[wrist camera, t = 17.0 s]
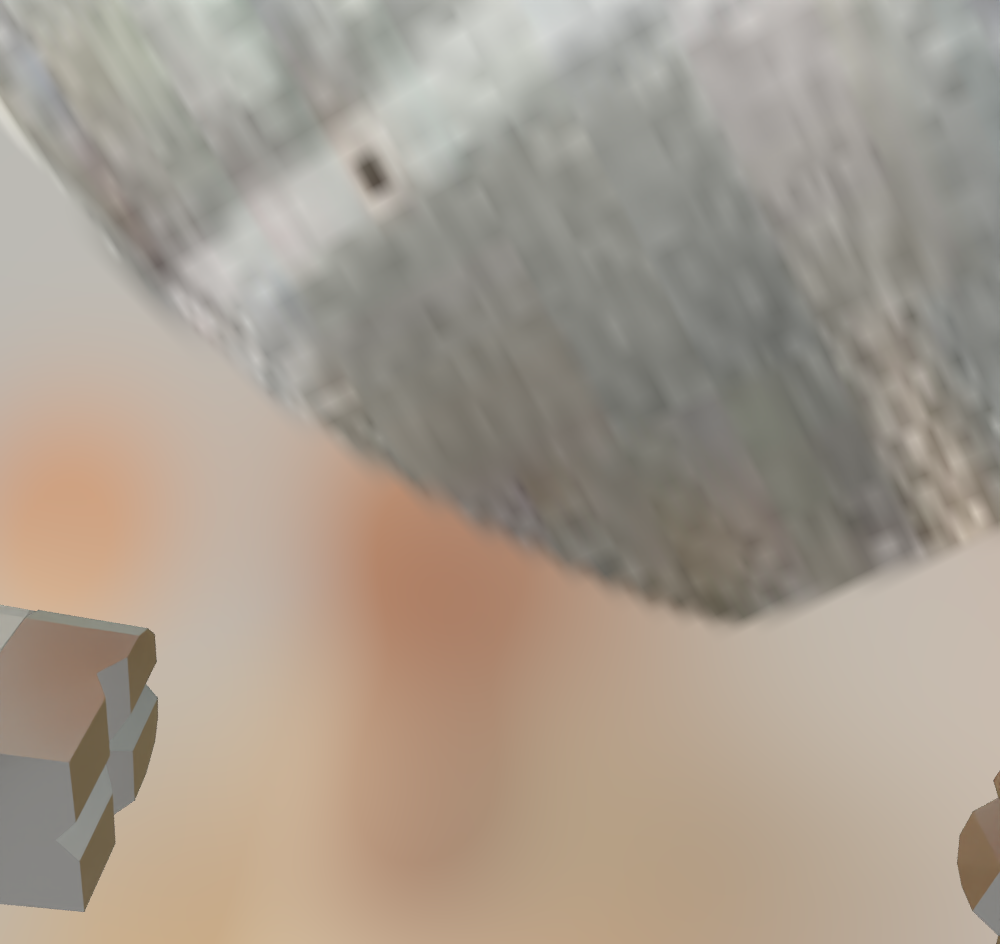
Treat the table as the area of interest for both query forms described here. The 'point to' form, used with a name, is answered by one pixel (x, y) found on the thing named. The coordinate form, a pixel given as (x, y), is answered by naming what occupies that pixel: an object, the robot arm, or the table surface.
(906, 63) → the table surface
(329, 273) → the table surface
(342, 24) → the table surface
